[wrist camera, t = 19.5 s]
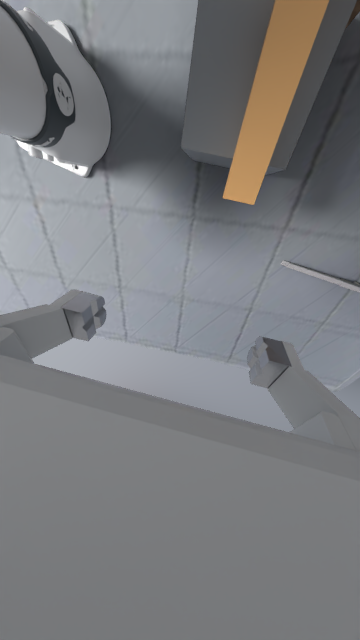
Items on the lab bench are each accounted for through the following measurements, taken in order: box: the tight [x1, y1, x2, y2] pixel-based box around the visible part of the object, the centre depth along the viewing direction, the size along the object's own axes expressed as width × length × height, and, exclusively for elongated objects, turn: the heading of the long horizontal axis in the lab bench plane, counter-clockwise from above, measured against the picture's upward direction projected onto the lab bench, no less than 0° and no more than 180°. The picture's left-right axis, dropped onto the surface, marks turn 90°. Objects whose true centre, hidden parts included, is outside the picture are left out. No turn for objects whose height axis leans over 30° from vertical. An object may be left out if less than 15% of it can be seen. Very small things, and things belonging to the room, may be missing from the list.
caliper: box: [281, 260, 360, 293], centre depth 40 cm, size 20×1×6 cm, turn 78°
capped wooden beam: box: [223, 0, 329, 205], centre depth 16 cm, size 4×24×4 cm, turn 171°
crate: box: [181, 0, 357, 175], centre depth 23 cm, size 14×16×14 cm
